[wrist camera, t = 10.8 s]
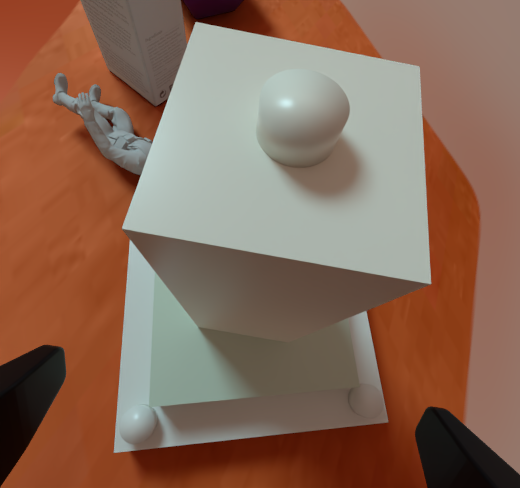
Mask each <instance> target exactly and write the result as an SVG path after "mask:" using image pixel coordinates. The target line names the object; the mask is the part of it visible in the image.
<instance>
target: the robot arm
mask: <svg viewBox="0 0 520 488" xmlns="http://www.w3.org/2000/svg"><path fill="white" fill-rule="evenodd" d="M65 377H66V364H65V353H64V349H63V348H62V347H58V346H52V345H43V346H40V347H38V348H36V349H34V350H32V351H30V352H28V353H26V354H24V355H22V356H20V357H18V358H16V359H14V360H12V361H9V362H7V363H5V364H3V365H1V366H0V487H1V485H2V484H3V482H4V481H5V479H6V478H7V476H8V475H9V474H10V472H11V471H12V469H13V468H14V466H15V465H16V463H17V462H18V460H19V459H20V457H21V456H22V454H23V453H24V451H25V450H26V448H27V446H28V445H29V443H30V441H31V440H32V438H33V436H34V434H35V433H36V431H37V429H38V427H39V425H40V424H41V422H42V420H43V418H44V417H45V415H46V413H47V411H48V409H49V408H50V406H51V404H52V402H53V400H54V399H55V397H56V395H57V393H58V392H59V390H60V388H61V386H62V384H63V382H64V380H65ZM415 437H416V442H417V446H418V450H419V455H420V459H421V463H422V467H423V471H424V475H425V479H426V483H427V487H428V488H520V475H519V474H518V473H517V472H516V471H515V470H514V469H513V468H512V467H510V466H509V465H508V464H507V463H506V462H505V461H504V460H503V459H502V458H500V457H499V456H498V455H497V454H496V453H495V452H494V451H493V450H491V449H490V448H489V447H488V446H487V445H486V444H485V443H484V442H483V441H481V440H480V439H479V438H478V437H477V436H476V435H475V434H474V433H473V432H471V431H470V430H469V429H468V428H467V427H466V426H465V425H464V424H463V423H461V422H460V421H459V420H458V419H457V418H456V417H455V416H454V415H453V414H451V413H450V412H449V411H448V410H446V409H444V408H438V407H428V408H427V409H426V410H425V412H424V414H423V416H422V418H421V419H420V421H419V423H418V425H417V427H416V431H415Z"/></svg>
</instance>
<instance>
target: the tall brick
mask: <svg viewBox="0 0 520 488" xmlns="http://www.w3.org/2000/svg"><path fill="white" fill-rule="evenodd" d="M122 230H123V231H124V232H125V233H126V235H127V236H128V237H129V239H130V240H131V241H132V243H133V244H134V245H135V246H136V248H137V249H138V250H139V252H140V253H141V254H142V255H143V257H144V258H145V259H146V261H147V262H148V263H149V264H150V266H151V267H152V268H153V270H154V271H155V272H156V273H157V275H158V276H159V277H160V279H161V280H162V281H163V283H164V284H165V285H166V286H167V288H168V289H169V290H170V292H171V293H172V294H173V295H174V297H175V298H176V299H177V301H178V302H179V303H180V304H181V306H182V307H183V308H184V310H185V311H186V312H187V314H188V315H189V316H190V317H191V319H192V320H193V321H194V323H195V324H196V325H197V326H198V327H200V328H206V329H212V330H218V331H224V332H229V333H235V334H241V335H247V336H253V337H259V338H264V339H270V340H276V341H282V342H288V343H289V342H291V341H294V340H296V339H298V338H301V337H303V336H306V335H308V334H311V333H313V332H316V331H318V330H320V329H323V328H325V327H328V326H330V325H333V324H335V323H337V322H340V321H342V320H345V319H347V318H350V317H352V316H355V315H357V314H359V313H362V312H364V311H367V310H369V309H372V308H374V307H377V306H379V305H381V304H384V303H386V302H389V301H391V300H394V299H396V298H399V297H401V296H403V295H406V294H408V293H411V292H413V291H416V290H418V289H421V288H423V287H425V286H428V285H430V284H431V274H430V255H429V236H428V218H427V199H426V180H425V161H424V142H423V123H422V106H421V85H420V68H419V67H418V66H414V65H409V64H404V63H399V62H394V61H389V60H384V59H379V58H374V57H369V56H364V55H359V54H354V53H349V52H344V51H339V50H334V49H329V48H324V47H319V46H314V45H309V44H304V43H299V42H294V41H289V40H284V39H279V38H274V37H269V36H264V35H259V34H254V33H249V32H244V31H239V30H234V29H229V28H224V27H219V26H214V25H209V24H204V23H199V22H195V25H194V28H193V31H192V34H191V36H190V39H189V42H188V45H187V48H186V50H185V53H184V56H183V59H182V62H181V64H180V67H179V70H178V73H177V76H176V78H175V81H174V84H173V87H172V90H171V92H170V95H169V98H168V101H167V104H166V106H165V109H164V112H163V115H162V118H161V120H160V123H159V126H158V129H157V132H156V134H155V137H154V140H153V143H152V146H151V148H150V151H149V154H148V157H147V160H146V162H145V165H144V168H143V171H142V174H141V176H140V179H139V182H138V185H137V188H136V191H135V193H134V196H133V199H132V202H131V205H130V207H129V210H128V213H127V216H126V219H125V221H124V224H123V227H122Z"/></svg>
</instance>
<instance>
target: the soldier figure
mask: <svg viewBox="0 0 520 488" xmlns="http://www.w3.org/2000/svg"><path fill="white" fill-rule="evenodd" d="M54 84H55V87H56V93H55V94H54V95H53V102H54V103H55V104H57V105H61V106H62V105H63V106H65V107H66V108H67V109H69V110H70V111H72V112H74V113H76V114H78V115H80V116H81V118H83V120H84V123H85V124H84V125H85V126H86V128H87V130H88V131H89V133H90V135H91V136H92V138H93V140H94V142H95V144H96V145H97V147H98V148H99V150H100V152H101V153H102V154H103V156H104V157H106V158H107V159H110V160H112V161H114V162H115V163H116V164H117V165H119V166H120V167H122V168H125V169H126V170H129V171H130V172H132V173H134V174H138V175H141V174H142V171H143V168H144V165H145V162H146V160H147V157H148V154H149V151H150V148H151V146H152V143H153V142H152V141H151V140H149V139H147V138H141V137H136V136H135V135H134V130H133V125H132V122H131V119H130V117H129V115H128V114H127V113H126V112H125V111H124V110H123V109H120V108H118V107H115V108H114V107H111V106H106V105H103V104H101V103H99V100H100V96H101V89H100V87H99V86H98V85H93V86H92V87H91V88H90V90H89V95H90V97H89V96H88V93H85V94H86V99H87V101H86V99H85V95H84V93H83V92H82V98H83V100H82V98H81V94H79V99H78V98H73V97H70V96H68V95H67V89H68V83H67V79H66V76H65V75H64V74H62V73H58V74H57V75H56V77H55V79H54ZM105 118H106V119H109V120H112V123H113V124H114V126H113V128H112V127H111V126H110V124H109V123H108V121H107V120H106V119H105Z"/></svg>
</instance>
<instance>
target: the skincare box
mask: <svg viewBox="0 0 520 488" xmlns="http://www.w3.org/2000/svg"><path fill="white" fill-rule="evenodd" d="M81 2H82V5H83V7H84V10H85V12H86V15H87V17H88V20H89V22H90V25H91V27H92V30H93V32H94V35H95V37H96V40H97V42H98V45H99V48H100V50H101V52H102V55H103V58H104V60H105V63H106V65H107V67H108V69H109V70H110V71H111V72H112V73H114V74H115V75H116V76H118V77H119V78H120V79H121V80H123V81H124V82H125V83H127V84H128V85H129V86H130V87H132V88H133V89H134V90H136V91H137V92H138V93H139V94H141V95H142V96H143V97H144V98H146V99H147V100H148V101H150V102H151V103H152V104H153V105H154V106H158V105H159V104H161V103H162V102H163V101H165V100H166V99H168V98H169V95H170V92H171V90H172V87H173V84H174V81H175V78H176V76H177V73H178V70H179V67H180V64H181V62H182V59H183V56H184V53H185V50H186V48H187V43H186V36H185V28H184V21H183V13H182V6H181V0H81Z"/></svg>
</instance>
